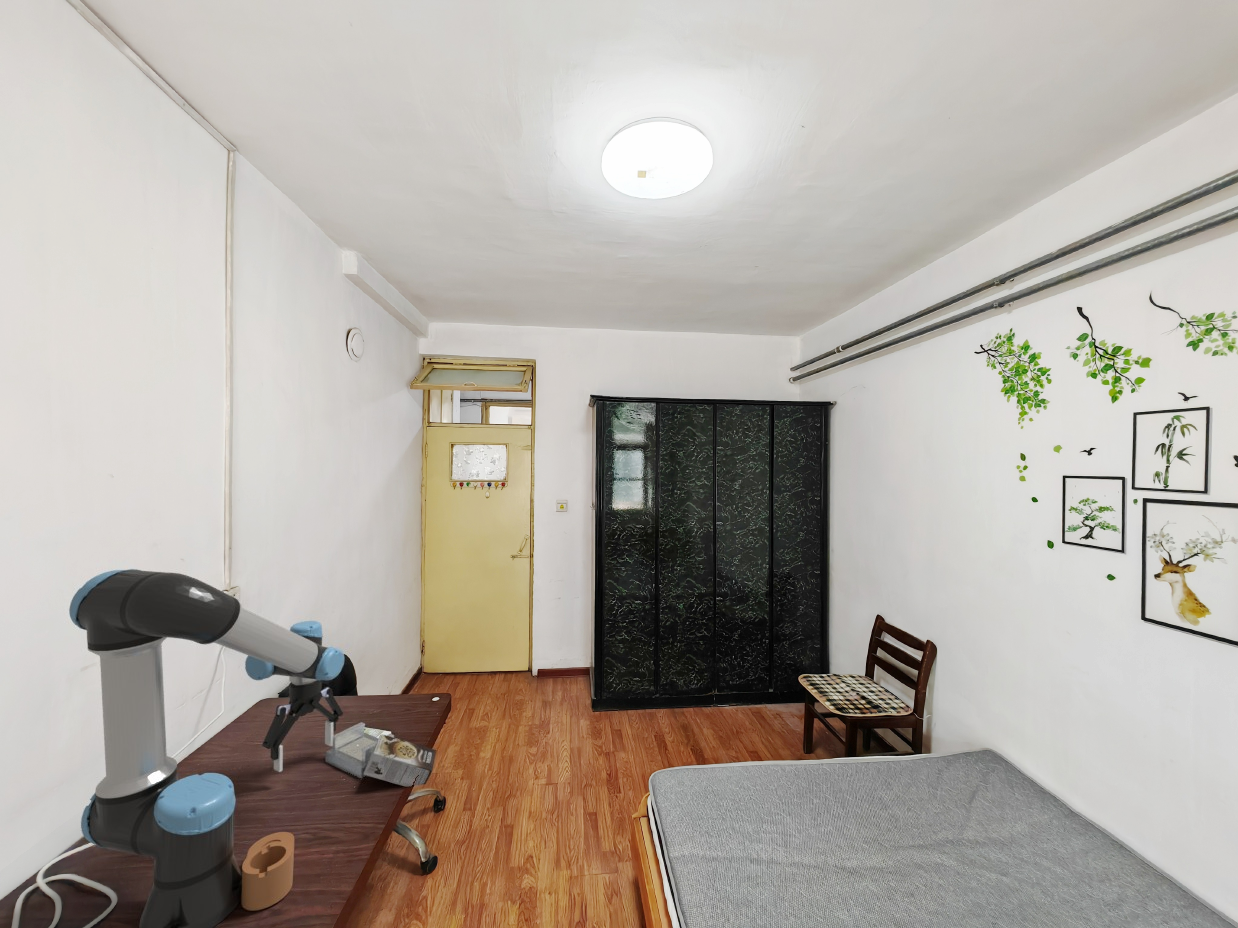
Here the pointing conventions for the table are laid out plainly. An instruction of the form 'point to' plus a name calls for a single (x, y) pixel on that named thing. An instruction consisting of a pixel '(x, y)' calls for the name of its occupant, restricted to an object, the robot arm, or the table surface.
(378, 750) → the coffee box
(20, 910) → the table surface
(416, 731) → the table surface
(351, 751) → the aluminum channel piece
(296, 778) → the table surface
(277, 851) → the bracket
